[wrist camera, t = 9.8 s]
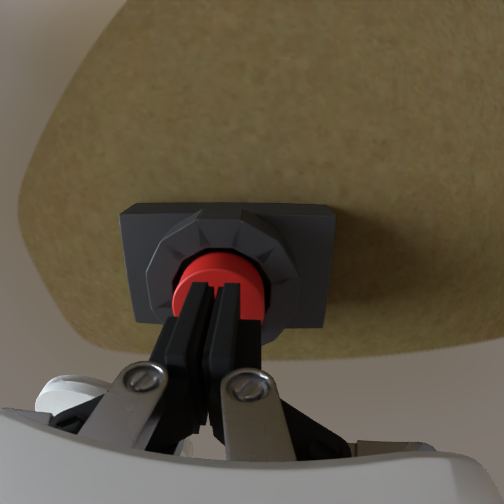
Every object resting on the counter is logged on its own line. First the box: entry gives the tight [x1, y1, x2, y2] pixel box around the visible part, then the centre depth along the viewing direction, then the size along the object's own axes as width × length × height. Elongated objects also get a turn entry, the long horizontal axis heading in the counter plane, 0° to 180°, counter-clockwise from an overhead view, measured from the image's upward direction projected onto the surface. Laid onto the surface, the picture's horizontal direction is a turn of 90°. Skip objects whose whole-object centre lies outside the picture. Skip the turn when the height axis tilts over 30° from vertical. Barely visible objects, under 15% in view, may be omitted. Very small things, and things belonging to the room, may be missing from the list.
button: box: [172, 252, 265, 324], centre depth 13 cm, size 4×4×2 cm
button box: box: [119, 203, 336, 346], centre depth 15 cm, size 10×6×4 cm, turn 89°
